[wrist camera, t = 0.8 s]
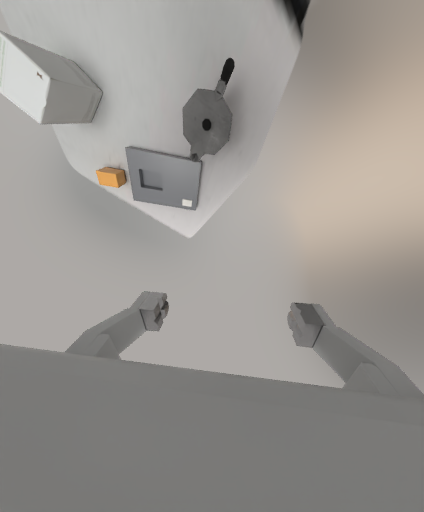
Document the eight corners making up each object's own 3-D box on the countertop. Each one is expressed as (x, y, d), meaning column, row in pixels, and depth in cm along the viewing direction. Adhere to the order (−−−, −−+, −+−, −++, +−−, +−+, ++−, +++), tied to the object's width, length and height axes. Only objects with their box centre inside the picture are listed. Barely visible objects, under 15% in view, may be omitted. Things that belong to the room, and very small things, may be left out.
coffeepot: (212, 162, 44) (213, 177, 30) (182, 143, 41) (167, 151, 27) (242, 94, 35) (263, 72, 21) (206, 64, 32) (204, 17, 19)
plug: (107, 166, 44) (95, 170, 40) (124, 169, 45) (115, 174, 41) (110, 179, 47) (99, 184, 42) (127, 182, 47) (118, 187, 43)
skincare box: (74, 60, 32) (-7, 21, 20) (105, 94, 35) (52, 77, 23) (62, 99, 35) (-12, 84, 24) (92, 126, 39) (39, 125, 27)
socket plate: (129, 146, 41) (124, 147, 39) (201, 161, 44) (200, 163, 41) (137, 196, 50) (133, 200, 48) (196, 206, 53) (195, 211, 50)
